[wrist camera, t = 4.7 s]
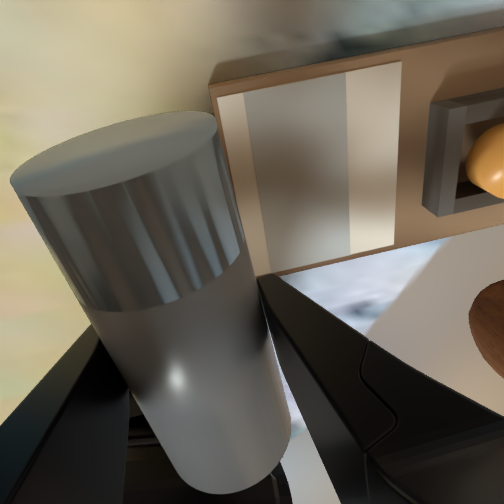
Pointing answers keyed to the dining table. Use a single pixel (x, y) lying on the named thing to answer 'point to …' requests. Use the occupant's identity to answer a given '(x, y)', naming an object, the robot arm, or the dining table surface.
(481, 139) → the button
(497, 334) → the wooden figurine
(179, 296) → the cylinder
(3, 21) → the dining table surface
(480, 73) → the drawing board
